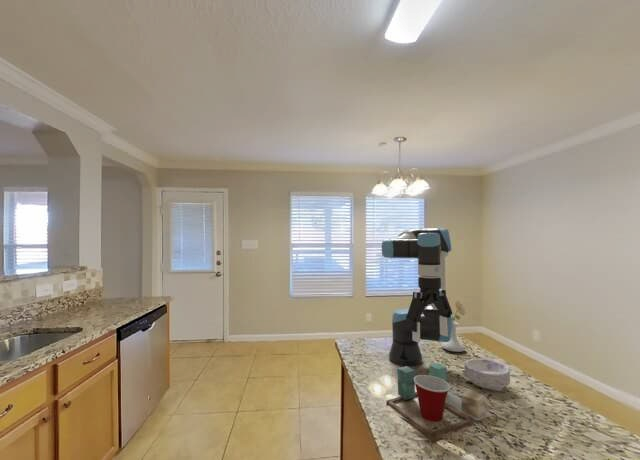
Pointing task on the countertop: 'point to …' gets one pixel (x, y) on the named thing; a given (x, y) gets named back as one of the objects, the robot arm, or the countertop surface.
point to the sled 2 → (452, 399)
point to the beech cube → (473, 403)
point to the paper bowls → (487, 373)
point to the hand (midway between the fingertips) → (430, 338)
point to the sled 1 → (408, 391)
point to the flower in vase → (454, 342)
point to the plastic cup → (431, 396)
